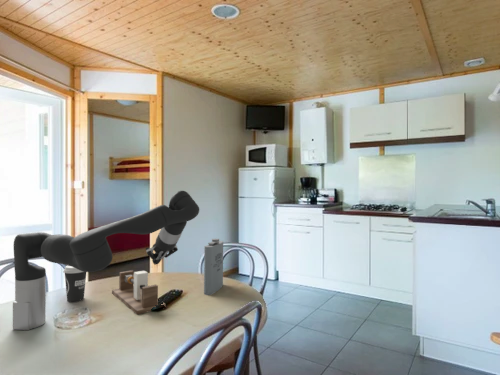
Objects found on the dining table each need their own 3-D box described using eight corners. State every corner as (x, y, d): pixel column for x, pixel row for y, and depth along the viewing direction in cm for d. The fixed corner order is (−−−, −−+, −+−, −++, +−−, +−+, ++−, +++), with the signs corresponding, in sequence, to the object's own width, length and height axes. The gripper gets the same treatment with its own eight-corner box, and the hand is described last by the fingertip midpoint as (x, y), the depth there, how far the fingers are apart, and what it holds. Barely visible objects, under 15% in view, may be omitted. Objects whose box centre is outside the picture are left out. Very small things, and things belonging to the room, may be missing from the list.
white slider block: (147, 297, 141) (147, 272, 141) (137, 300, 138) (137, 274, 138) (144, 295, 144) (144, 270, 144) (133, 297, 141) (133, 272, 141)
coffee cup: (69, 305, 137) (69, 269, 137) (59, 300, 143) (59, 266, 143) (91, 298, 145) (91, 265, 145) (81, 294, 151) (81, 262, 151)
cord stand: (165, 307, 136) (165, 284, 136) (137, 314, 128) (137, 290, 128) (137, 288, 161) (137, 268, 160) (112, 293, 153) (112, 272, 153)
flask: (212, 295, 151) (212, 241, 151) (202, 294, 153) (203, 241, 152) (225, 284, 168) (225, 236, 168) (217, 283, 169) (217, 235, 169)
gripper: (155, 245, 114) (141, 273, 123) (188, 241, 122) (173, 267, 132) (149, 229, 118) (136, 256, 127) (182, 226, 126) (167, 252, 136)
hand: (155, 262), depth 129 cm, fingers closed
